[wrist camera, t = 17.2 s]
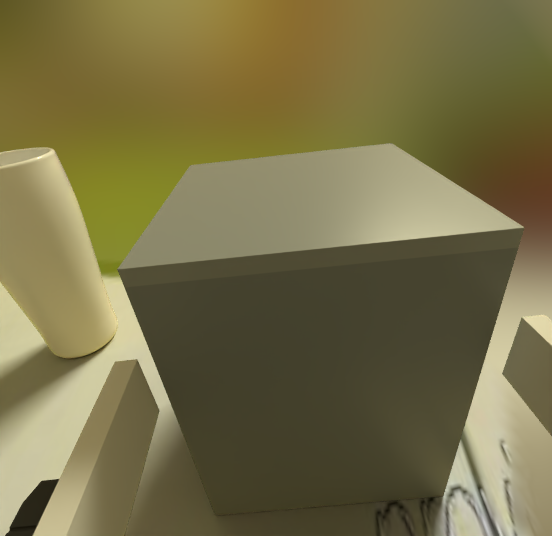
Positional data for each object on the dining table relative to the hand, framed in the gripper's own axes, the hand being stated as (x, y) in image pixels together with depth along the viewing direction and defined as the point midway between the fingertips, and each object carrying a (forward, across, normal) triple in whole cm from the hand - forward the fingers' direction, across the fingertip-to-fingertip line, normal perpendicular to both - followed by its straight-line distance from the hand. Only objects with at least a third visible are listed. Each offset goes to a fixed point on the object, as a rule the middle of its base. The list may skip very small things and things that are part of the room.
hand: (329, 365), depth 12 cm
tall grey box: (+5, 0, -9) cm, 11 cm away
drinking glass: (+14, -18, -9) cm, 25 cm away
